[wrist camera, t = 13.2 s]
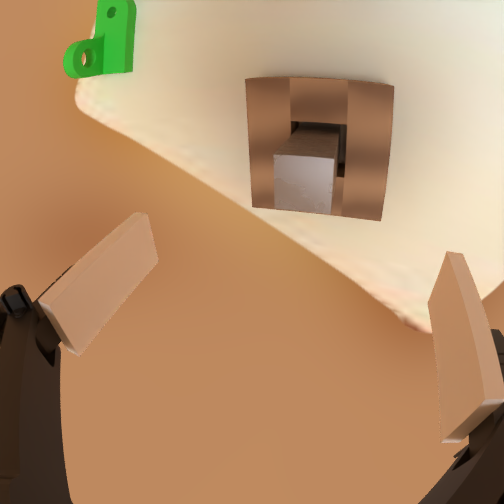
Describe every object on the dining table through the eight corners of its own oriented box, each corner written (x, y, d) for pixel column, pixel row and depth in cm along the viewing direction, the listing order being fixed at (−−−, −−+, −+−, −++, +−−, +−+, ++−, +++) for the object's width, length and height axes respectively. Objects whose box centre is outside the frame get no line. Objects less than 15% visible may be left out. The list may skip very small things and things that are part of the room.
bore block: (261, 77, 31) (245, 78, 26) (386, 84, 27) (394, 86, 22) (266, 187, 39) (252, 207, 34) (377, 198, 35) (380, 221, 30)
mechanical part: (133, 71, 34) (93, 77, 28) (102, 73, 35) (63, 81, 29) (139, -7, 27) (99, -13, 21) (107, 1, 28) (67, -1, 22)
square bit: (304, 120, 31) (273, 154, 20) (340, 122, 30) (333, 158, 19) (304, 154, 34) (274, 208, 22) (339, 156, 33) (330, 214, 21)
